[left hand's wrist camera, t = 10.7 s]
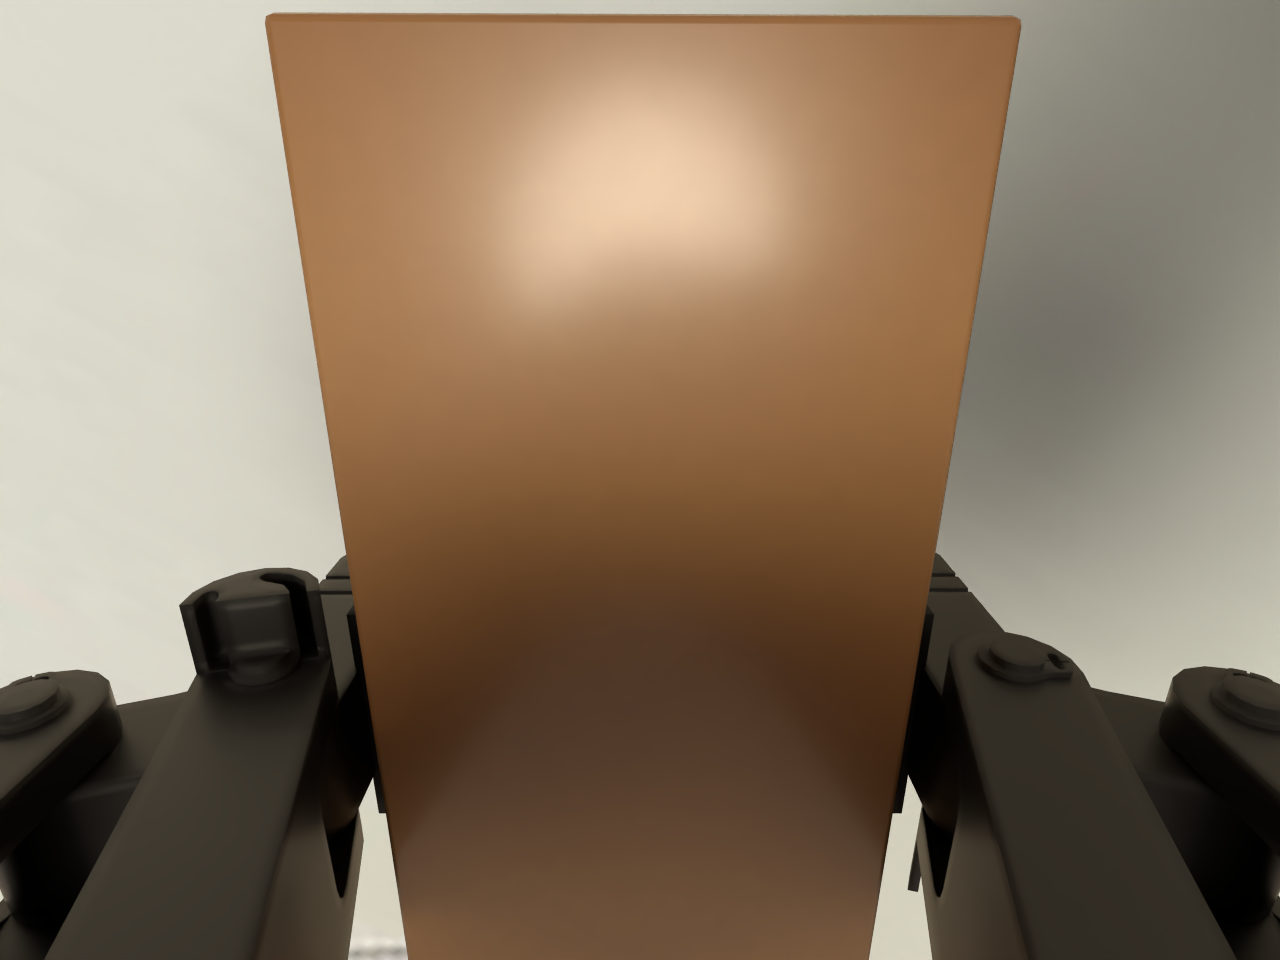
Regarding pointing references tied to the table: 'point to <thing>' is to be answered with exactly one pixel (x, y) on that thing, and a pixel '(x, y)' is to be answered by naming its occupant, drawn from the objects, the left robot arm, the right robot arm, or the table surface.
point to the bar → (640, 448)
